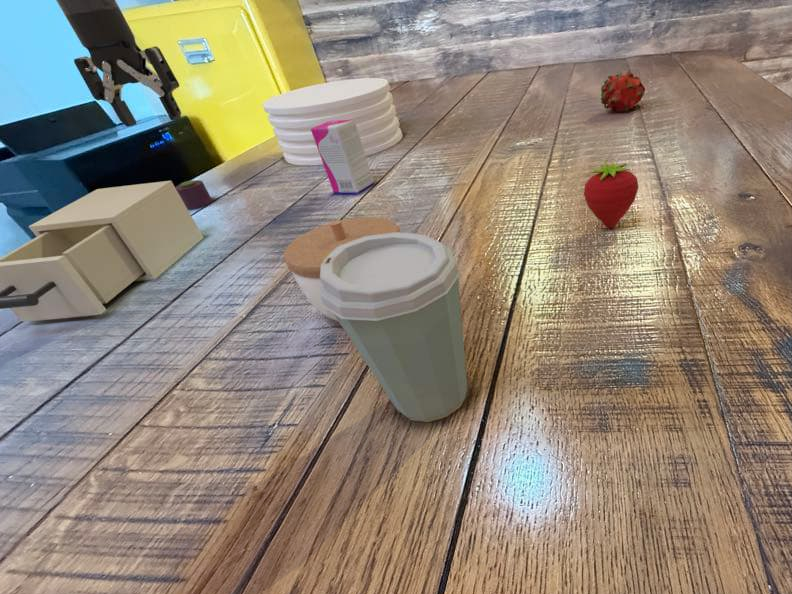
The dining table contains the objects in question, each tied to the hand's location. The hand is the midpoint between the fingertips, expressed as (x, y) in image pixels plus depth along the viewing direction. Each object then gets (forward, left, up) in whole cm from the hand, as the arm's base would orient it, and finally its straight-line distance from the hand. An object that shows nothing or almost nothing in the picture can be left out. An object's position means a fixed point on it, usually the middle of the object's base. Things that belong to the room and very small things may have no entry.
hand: (154, 122), depth 91 cm
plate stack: (+20, +32, -15) cm, 41 cm away
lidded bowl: (+47, -47, -15) cm, 68 cm away
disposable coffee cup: (+58, -65, -15) cm, 88 cm away
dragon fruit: (+87, +35, -15) cm, 95 cm away
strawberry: (+78, -30, -15) cm, 85 cm away
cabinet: (+4, -25, -15) cm, 29 cm away
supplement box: (+32, -1, -15) cm, 35 cm away
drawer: (+4, -39, -14) cm, 41 cm away
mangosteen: (0, 0, -15) cm, 15 cm away
